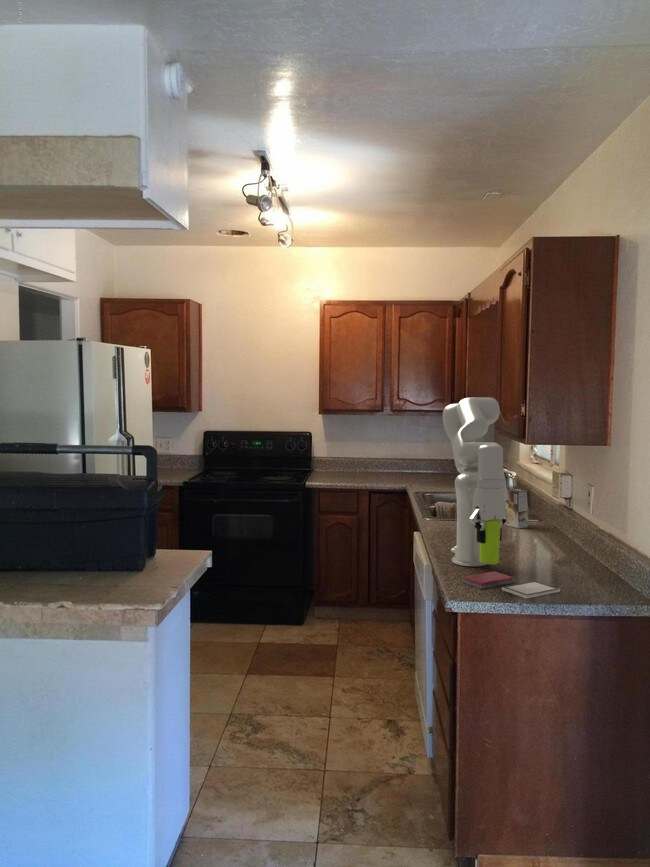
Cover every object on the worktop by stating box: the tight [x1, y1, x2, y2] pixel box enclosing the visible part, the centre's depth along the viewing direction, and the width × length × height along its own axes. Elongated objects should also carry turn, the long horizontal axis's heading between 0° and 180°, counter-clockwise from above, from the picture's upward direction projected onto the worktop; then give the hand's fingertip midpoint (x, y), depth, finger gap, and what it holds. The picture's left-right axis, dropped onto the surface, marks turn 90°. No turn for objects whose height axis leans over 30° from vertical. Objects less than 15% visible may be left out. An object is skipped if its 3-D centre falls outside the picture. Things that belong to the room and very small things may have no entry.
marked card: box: [501, 580, 561, 600], centre depth 212 cm, size 10×14×1 cm
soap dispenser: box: [479, 515, 501, 565], centre depth 220 cm, size 6×7×20 cm
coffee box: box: [504, 488, 530, 529], centre depth 309 cm, size 9×6×16 cm
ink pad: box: [461, 571, 516, 590], centre depth 221 cm, size 9×14×2 cm, turn 120°
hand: (489, 540), depth 220 cm, fingers closed on soap dispenser, 6 cm apart
